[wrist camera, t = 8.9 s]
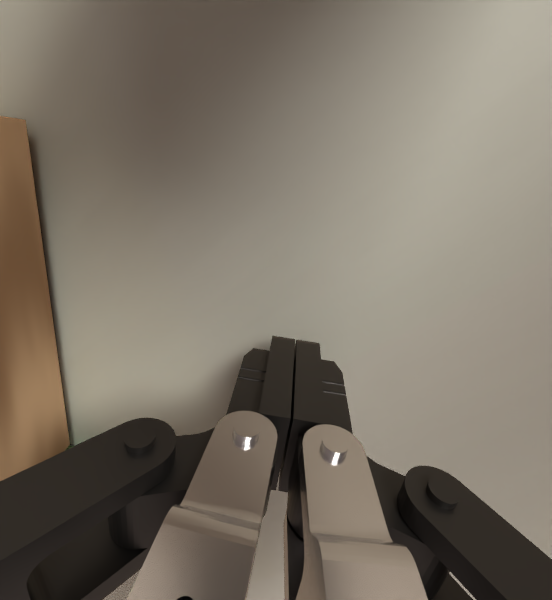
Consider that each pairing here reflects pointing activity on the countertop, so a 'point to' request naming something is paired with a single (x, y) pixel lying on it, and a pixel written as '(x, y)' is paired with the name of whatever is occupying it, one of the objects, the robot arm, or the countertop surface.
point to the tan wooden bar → (25, 319)
